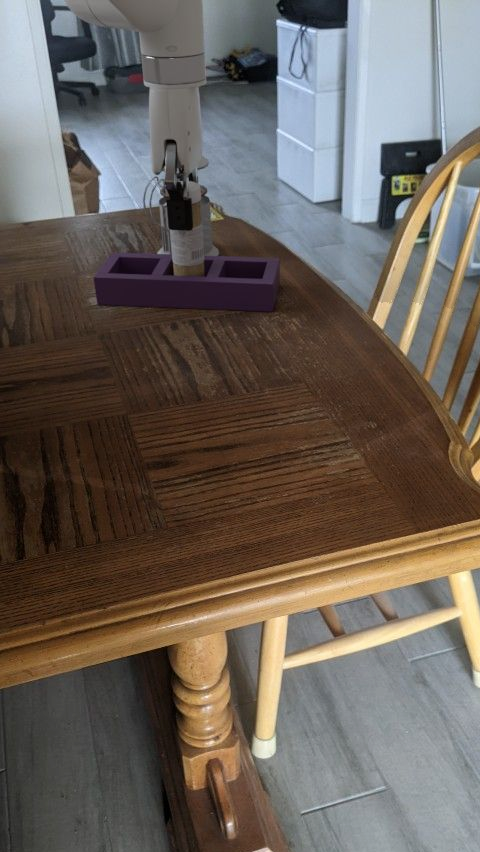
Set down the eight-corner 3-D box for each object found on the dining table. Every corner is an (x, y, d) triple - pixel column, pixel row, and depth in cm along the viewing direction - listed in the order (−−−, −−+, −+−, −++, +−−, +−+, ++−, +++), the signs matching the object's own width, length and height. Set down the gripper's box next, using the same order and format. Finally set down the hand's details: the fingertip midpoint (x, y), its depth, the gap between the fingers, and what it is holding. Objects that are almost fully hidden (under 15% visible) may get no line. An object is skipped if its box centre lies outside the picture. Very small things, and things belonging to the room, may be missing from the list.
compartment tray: (273, 312, 105) (272, 283, 103) (97, 304, 108) (93, 277, 105) (279, 284, 113) (279, 258, 110) (115, 278, 115) (111, 252, 113)
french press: (231, 254, 122) (225, 77, 107) (170, 273, 116) (154, 89, 101) (195, 237, 128) (184, 68, 113) (135, 254, 122) (114, 78, 107)
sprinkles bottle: (196, 274, 112) (190, 177, 104) (211, 285, 109) (206, 186, 100) (167, 281, 110) (159, 183, 102) (182, 292, 107) (174, 192, 99)
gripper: (159, 58, 100) (170, 202, 111) (125, 83, 87) (142, 244, 98) (216, 58, 99) (222, 203, 110) (191, 84, 86) (201, 246, 97)
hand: (185, 221), depth 104 cm, fingers closed on sprinkles bottle, 4 cm apart
